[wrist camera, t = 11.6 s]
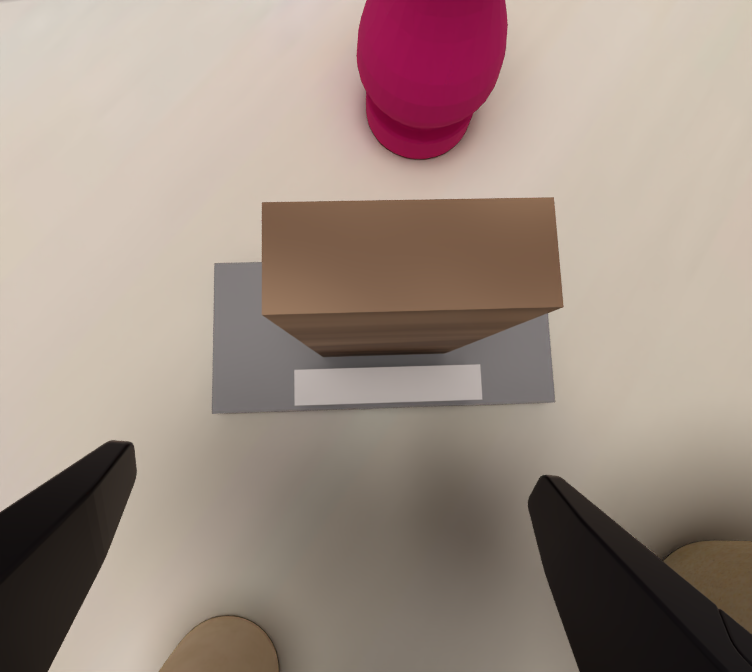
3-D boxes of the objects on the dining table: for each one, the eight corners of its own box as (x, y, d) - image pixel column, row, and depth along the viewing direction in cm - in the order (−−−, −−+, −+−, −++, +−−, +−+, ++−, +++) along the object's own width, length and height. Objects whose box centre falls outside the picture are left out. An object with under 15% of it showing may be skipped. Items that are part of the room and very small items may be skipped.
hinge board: (546, 401, 23) (585, 404, 19) (218, 412, 22) (186, 418, 18) (535, 261, 24) (570, 236, 20) (220, 268, 23) (191, 244, 19)
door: (445, 353, 22) (563, 307, 9) (323, 357, 22) (261, 314, 9) (441, 289, 22) (550, 155, 9) (322, 292, 22) (261, 159, 9)
